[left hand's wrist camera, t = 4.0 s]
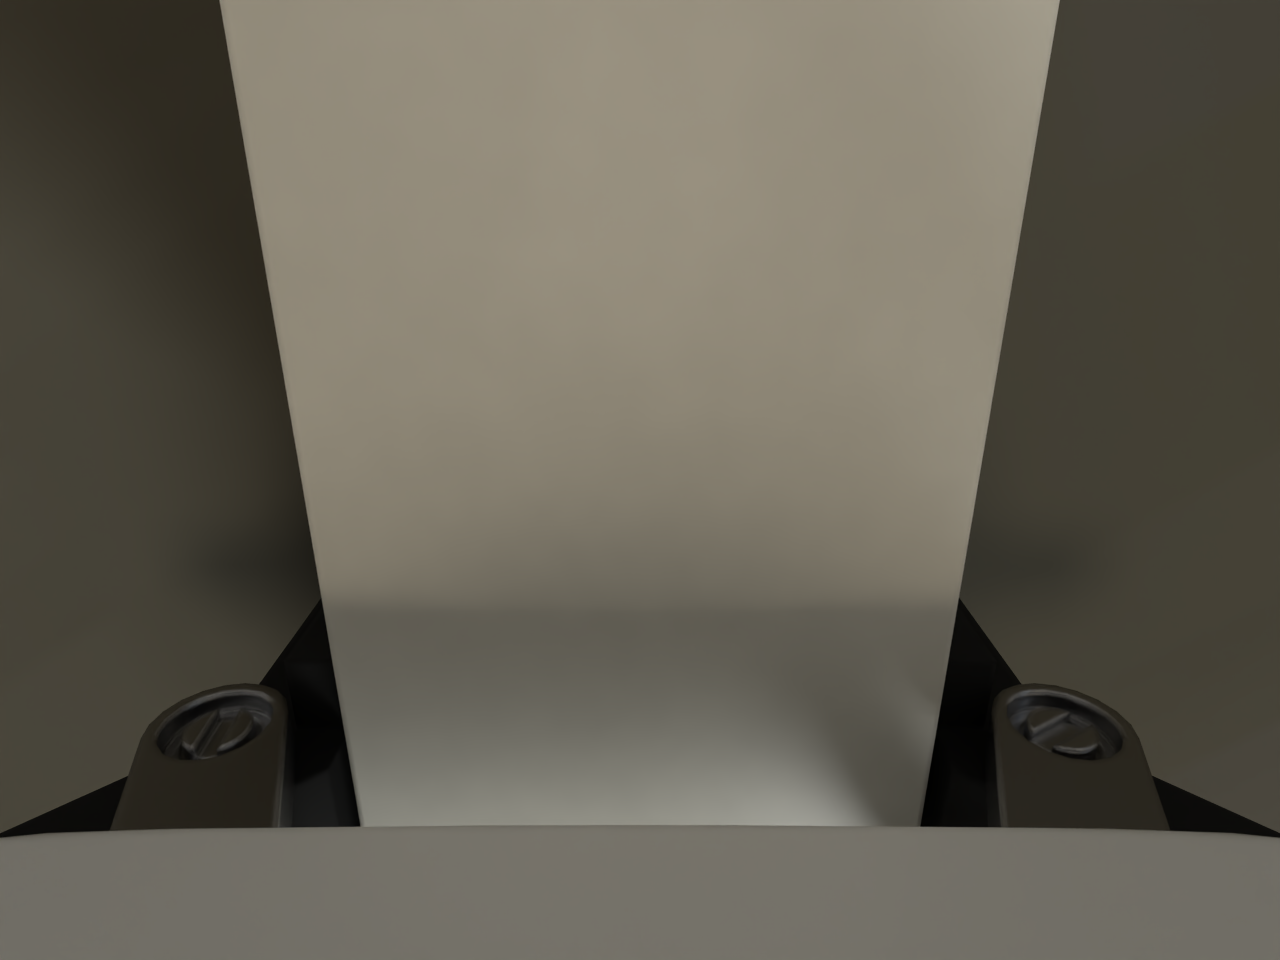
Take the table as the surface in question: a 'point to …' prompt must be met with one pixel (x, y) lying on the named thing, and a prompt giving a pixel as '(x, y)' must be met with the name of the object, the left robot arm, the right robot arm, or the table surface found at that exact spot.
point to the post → (639, 385)
